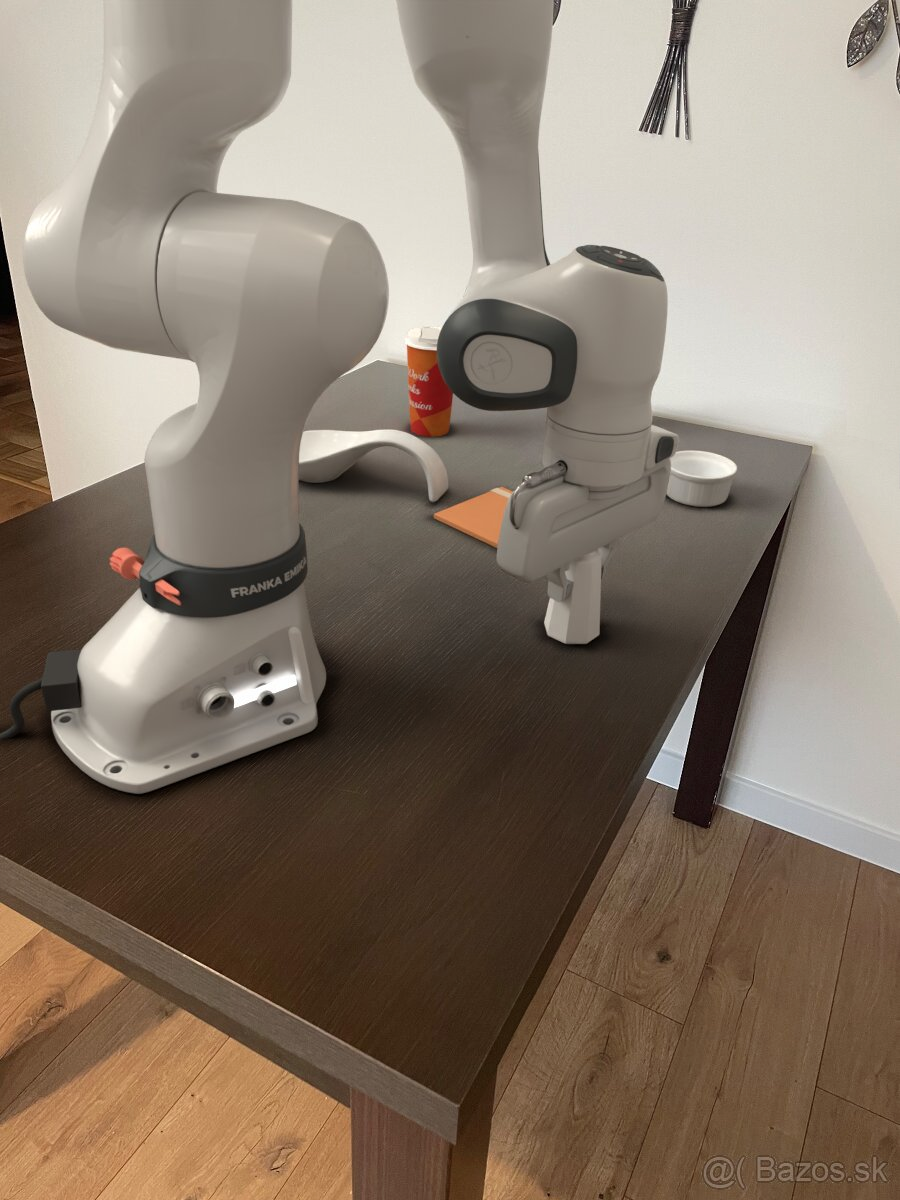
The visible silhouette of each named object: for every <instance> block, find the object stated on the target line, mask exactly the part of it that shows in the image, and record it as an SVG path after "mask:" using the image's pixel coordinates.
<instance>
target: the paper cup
mask: <svg viewBox="0 0 900 1200" xmlns="http://www.w3.org/2000/svg"><path fill="white" fill-rule="evenodd" d="M442 327H443V326H436V325H435V326H433V327H432V326H422V327H419V326H417V327H412V328H410V329H409V330H408V331H407V333H406V334H407V335H406V337H405V338H404V344H405V345H406V358H407V359H406V360H407V385H408V405H409V407H408V408H409V424H410V431H411V432H412V433H413V434H415V435H418V436H421V437H441V436H444V435H446V434H448V433H449V430H450V426H451V418H452V409H453V399H454V393H453V392H452V391H451V390H450V389H449V387H448V386H447V385H446V383H445V381H444V380H443V378H442V375H441V373H440V370H439V367H438V362H437V342H438V337H439V334H440V331H441V329H442Z"/></svg>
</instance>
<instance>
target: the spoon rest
mask: <svg viewBox="0 0 900 1200" xmlns="http://www.w3.org/2000/svg"><path fill="white" fill-rule="evenodd" d="M382 447H393V448H396V449H399V450H401V451H403V452H405V453H407V454H409V455H410V456H412V457H413V458H414V459H415V460H416V461H417V462H418V463H419V465H420V466H421V467H422V470H423V471H424V475H425V478H426V484H427V491H428V500H429V501H430V502H432V503H435V502H437V501H438V500H439V499H440V498H441V497H442V496H443V495H444V494H445V493H446V492H447V491H448V489H449V477H448V473H447V469H446V467H445V465H444V462H443V461H442V459H441V457H440V455H438V453H437V452H436V451H435V449H433V448H432V447H431V446H430V445H429V444H427V442H425V441H423V440H422V439H420V438H418V437H417V436H415V435H413V434H411V433H408V432H406V431H402V430H399V429H375V430H374V429H373V430H368V431H367V430H365V431H363V430H362V431H352V430H351V431H347V430H338V429H337V430H335V429H316V430H315V429H313V430H304V431H303V435H302V439H301V444H300V452H299V481H301V482H305V483H311V484H312V483H315V484H316V483H317V484H318V483H321V484H322V483H327V482H330V481H334V480H336V479H338V478H339V477H340V476H341V475H342V474H343V473H345V472H346V471H347V470H349V469H350V468H351V467H352V466H354V465H355V464H356V463H357V462H358V461H359V460H360V459H362V458H363V457H364V456H366V455H367V454H368V453H370V452H371V451H373V450H375V449H379V448H382Z"/></svg>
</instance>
